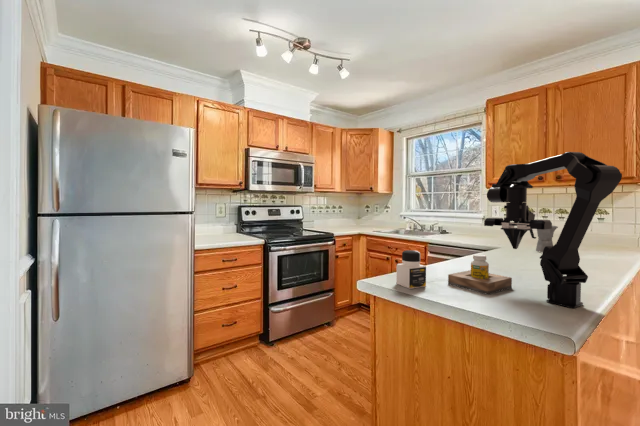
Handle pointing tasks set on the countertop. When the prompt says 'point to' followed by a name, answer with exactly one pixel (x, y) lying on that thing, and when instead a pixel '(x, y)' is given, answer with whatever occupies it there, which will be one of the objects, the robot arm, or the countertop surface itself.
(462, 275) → the socket block
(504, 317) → the countertop surface
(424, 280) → the medicine bottle
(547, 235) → the coffeepot
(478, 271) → the supplement bottle
